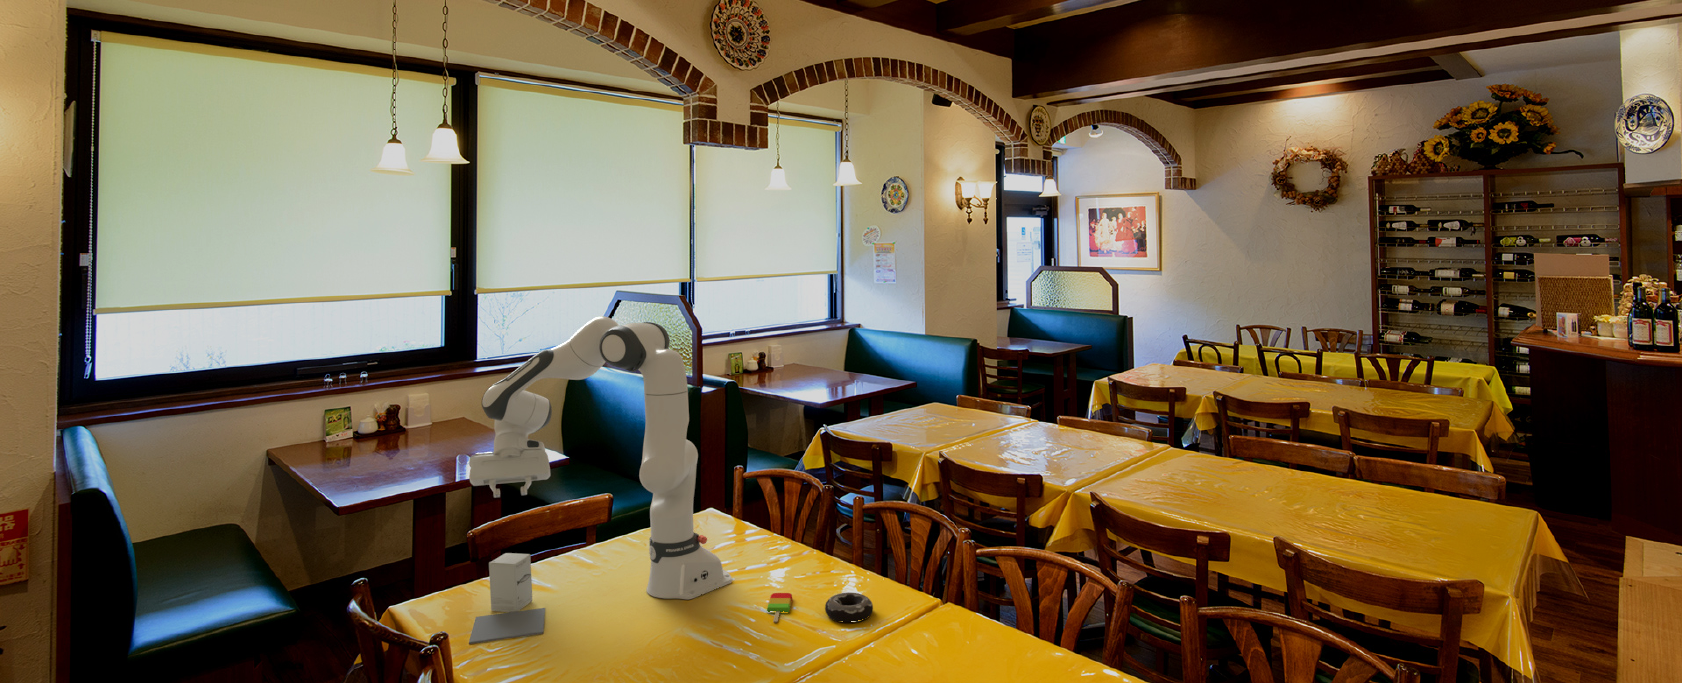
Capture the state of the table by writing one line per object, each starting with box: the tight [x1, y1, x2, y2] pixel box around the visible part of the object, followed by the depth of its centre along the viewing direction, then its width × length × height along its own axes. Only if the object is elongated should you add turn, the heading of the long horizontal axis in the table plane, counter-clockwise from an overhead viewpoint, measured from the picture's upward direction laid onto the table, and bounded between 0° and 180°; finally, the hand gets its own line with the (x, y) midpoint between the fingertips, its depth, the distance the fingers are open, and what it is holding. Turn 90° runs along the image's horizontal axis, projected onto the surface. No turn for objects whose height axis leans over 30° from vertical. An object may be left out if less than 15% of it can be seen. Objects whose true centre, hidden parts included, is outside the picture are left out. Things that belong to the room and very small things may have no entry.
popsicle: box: [766, 592, 793, 623], centre depth 205 cm, size 6×15×2 cm, turn 178°
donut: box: [824, 591, 874, 622], centre depth 202 cm, size 12×12×4 cm
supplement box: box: [488, 552, 533, 613], centre depth 209 cm, size 7×7×13 cm
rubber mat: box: [468, 607, 546, 645], centre depth 198 cm, size 14×16×1 cm
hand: (510, 495), depth 218 cm, fingers open, 5 cm apart
